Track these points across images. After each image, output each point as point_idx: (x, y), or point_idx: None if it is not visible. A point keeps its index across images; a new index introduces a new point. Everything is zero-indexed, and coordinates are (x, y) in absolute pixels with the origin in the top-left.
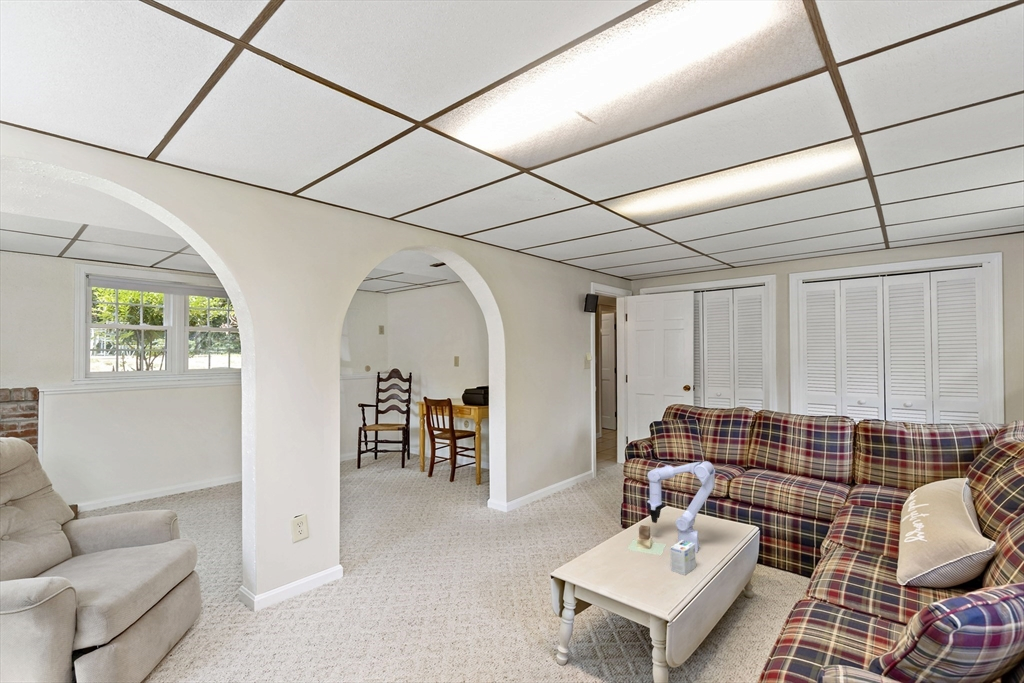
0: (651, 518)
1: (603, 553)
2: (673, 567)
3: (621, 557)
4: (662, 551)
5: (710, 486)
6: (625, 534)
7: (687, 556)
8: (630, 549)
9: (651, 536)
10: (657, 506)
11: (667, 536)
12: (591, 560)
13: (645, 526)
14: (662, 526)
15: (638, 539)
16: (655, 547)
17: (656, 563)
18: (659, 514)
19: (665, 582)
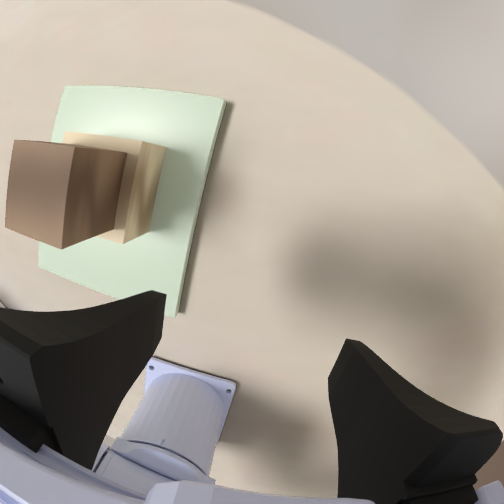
0: (119, 300)
1: (62, 6)
2: None
3: (26, 83)
4: (75, 280)
5: None
6: (344, 58)
7: None
8: (67, 103)
9: (119, 238)
10: (370, 481)
11: (344, 337)
12: (21, 3)
13: (51, 200)
14: (480, 313)
15: (64, 140)
16: (111, 247)
17: (4, 237)
18: (334, 411)
19: None
